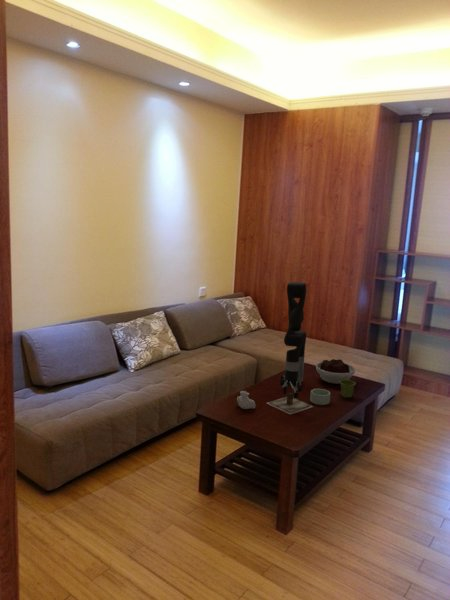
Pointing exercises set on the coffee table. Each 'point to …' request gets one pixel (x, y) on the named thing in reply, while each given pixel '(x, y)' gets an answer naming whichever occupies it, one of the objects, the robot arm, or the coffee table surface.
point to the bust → (245, 401)
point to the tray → (288, 412)
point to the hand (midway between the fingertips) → (290, 396)
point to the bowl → (320, 396)
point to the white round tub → (335, 371)
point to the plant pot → (347, 388)
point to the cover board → (290, 407)
